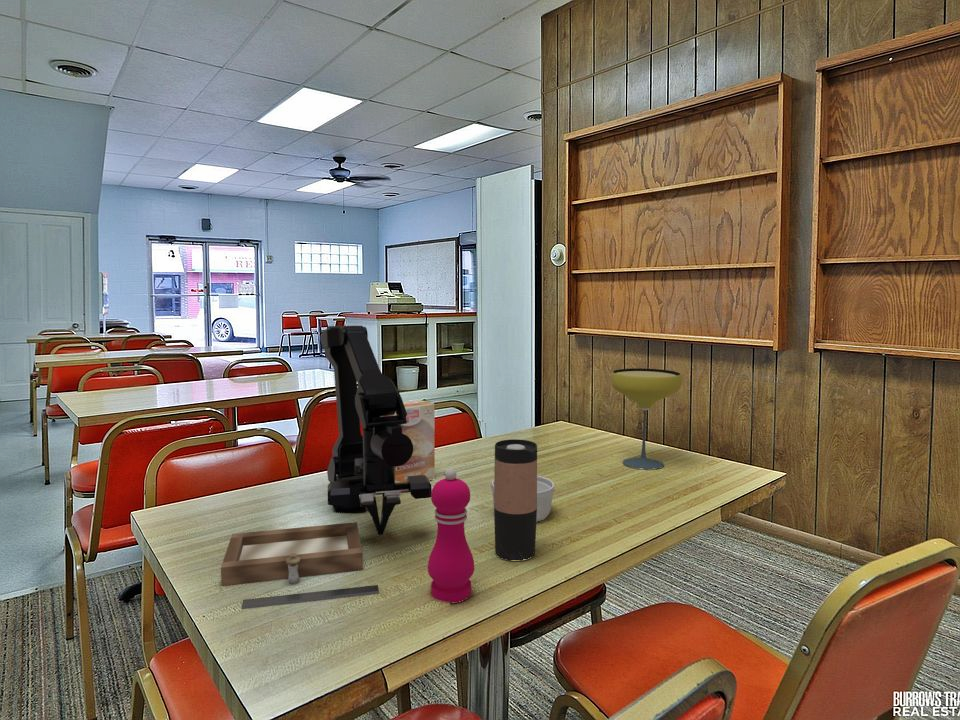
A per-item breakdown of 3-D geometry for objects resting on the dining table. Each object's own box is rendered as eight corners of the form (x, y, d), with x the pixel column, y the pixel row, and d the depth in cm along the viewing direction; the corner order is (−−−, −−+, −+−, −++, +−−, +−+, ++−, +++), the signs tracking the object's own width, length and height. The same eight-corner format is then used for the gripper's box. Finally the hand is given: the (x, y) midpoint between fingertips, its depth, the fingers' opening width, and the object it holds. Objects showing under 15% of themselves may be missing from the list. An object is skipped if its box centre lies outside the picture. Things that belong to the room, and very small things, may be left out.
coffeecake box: (384, 493, 144) (383, 410, 141) (368, 485, 149) (367, 406, 147) (436, 480, 153) (435, 402, 151) (419, 473, 159) (418, 398, 156)
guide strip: (377, 589, 98) (377, 584, 98) (378, 595, 96) (378, 590, 96) (243, 604, 93) (243, 599, 93) (241, 611, 91) (241, 606, 91)
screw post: (299, 581, 100) (298, 560, 100) (298, 585, 99) (298, 565, 98) (289, 582, 100) (288, 561, 100) (288, 587, 98) (287, 566, 98)
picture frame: (357, 537, 117) (356, 518, 117) (363, 576, 101) (363, 554, 101) (232, 549, 111) (231, 529, 111) (219, 593, 96) (218, 570, 95)
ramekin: (559, 508, 134) (560, 476, 133) (545, 530, 122) (546, 496, 121) (501, 500, 139) (501, 470, 138) (482, 521, 126) (482, 488, 125)
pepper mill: (447, 578, 101) (446, 459, 99) (483, 591, 97) (483, 467, 95) (418, 596, 95) (416, 470, 93) (455, 610, 91) (455, 479, 89)
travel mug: (491, 545, 115) (492, 439, 112) (532, 543, 115) (533, 438, 113) (496, 563, 107) (496, 450, 105) (539, 561, 108) (541, 449, 105)
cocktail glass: (689, 463, 168) (693, 372, 165) (659, 478, 155) (663, 379, 152) (629, 451, 180) (631, 366, 177) (596, 465, 166) (598, 373, 164)
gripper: (423, 439, 124) (424, 514, 126) (327, 444, 120) (329, 522, 121) (431, 453, 113) (432, 535, 115) (326, 460, 109) (329, 545, 111)
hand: (380, 534), depth 116 cm, fingers closed
